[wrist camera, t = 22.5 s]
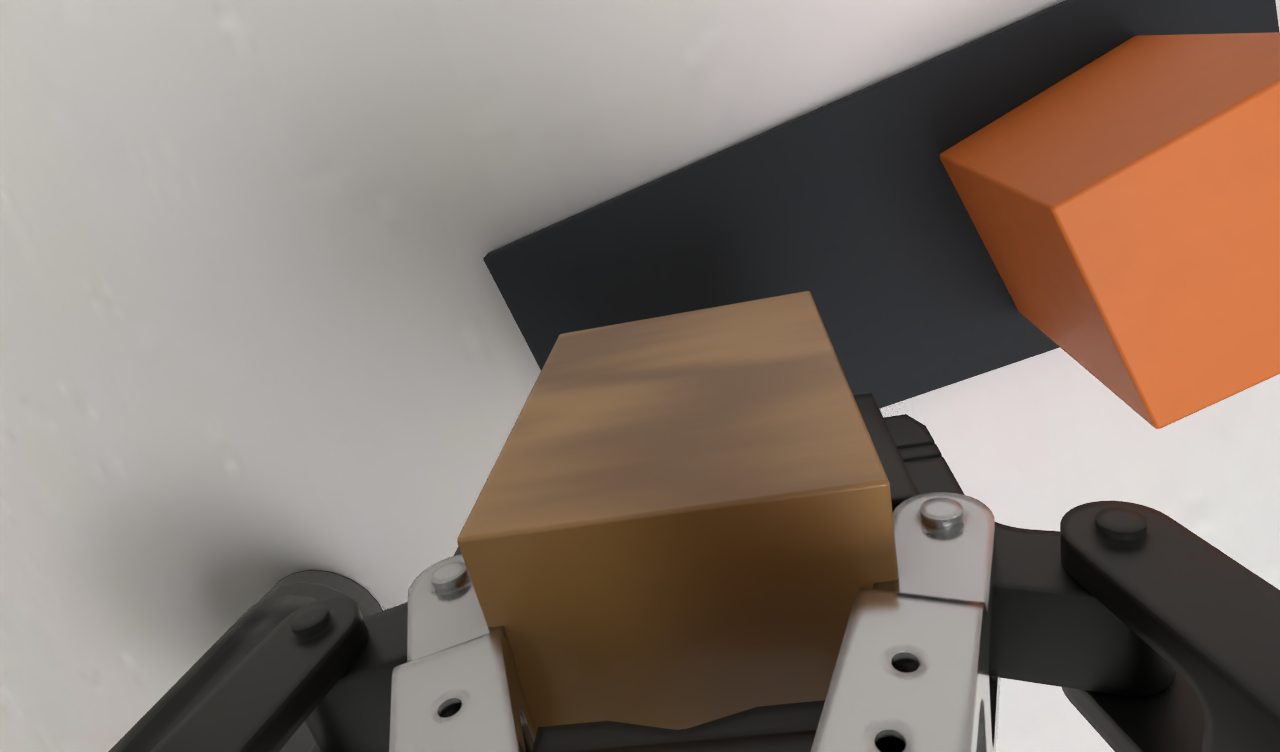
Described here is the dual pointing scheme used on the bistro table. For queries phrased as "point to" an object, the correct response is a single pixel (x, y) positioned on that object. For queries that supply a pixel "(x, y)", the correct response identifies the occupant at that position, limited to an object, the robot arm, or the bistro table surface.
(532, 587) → the oak block
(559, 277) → the mat
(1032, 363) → the bistro table surface
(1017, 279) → the orange block
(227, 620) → the bistro table surface
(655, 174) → the bistro table surface
